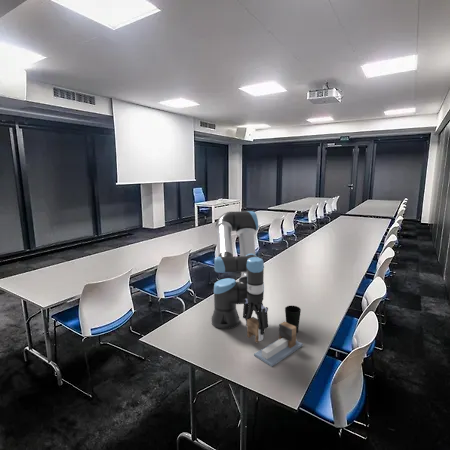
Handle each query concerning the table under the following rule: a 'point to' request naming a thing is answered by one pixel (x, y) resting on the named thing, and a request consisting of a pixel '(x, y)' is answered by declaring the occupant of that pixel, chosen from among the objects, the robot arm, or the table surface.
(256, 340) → the two-tone tabbed box
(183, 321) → the table surface
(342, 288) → the table surface
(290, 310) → the cup
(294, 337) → the fixed jaw
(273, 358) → the rail
